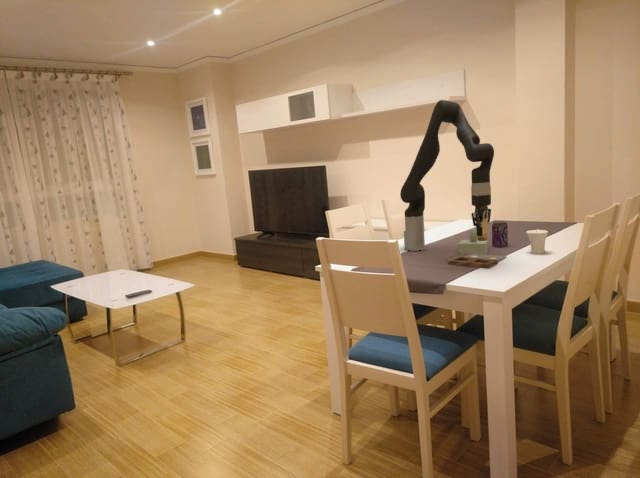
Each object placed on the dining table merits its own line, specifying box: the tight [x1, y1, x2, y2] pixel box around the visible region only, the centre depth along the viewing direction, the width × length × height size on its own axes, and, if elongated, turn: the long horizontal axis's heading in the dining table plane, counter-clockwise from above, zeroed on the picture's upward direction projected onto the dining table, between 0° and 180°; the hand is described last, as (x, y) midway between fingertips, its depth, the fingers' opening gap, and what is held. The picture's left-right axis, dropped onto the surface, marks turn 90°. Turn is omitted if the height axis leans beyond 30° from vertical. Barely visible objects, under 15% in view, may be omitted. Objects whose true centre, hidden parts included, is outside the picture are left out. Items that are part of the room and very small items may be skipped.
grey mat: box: [464, 253, 508, 263], centre depth 203 cm, size 16×11×1 cm
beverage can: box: [491, 220, 509, 248], centre depth 224 cm, size 7×7×12 cm
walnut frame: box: [447, 255, 499, 269], centre depth 195 cm, size 18×9×2 cm, turn 47°
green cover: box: [458, 228, 489, 255], centre depth 217 cm, size 12×9×11 cm
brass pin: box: [477, 218, 488, 241], centre depth 190 cm, size 4×4×9 cm
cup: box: [525, 228, 549, 255], centre depth 205 cm, size 9×9×10 cm
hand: (482, 234), depth 190 cm, fingers closed on brass pin, 4 cm apart
